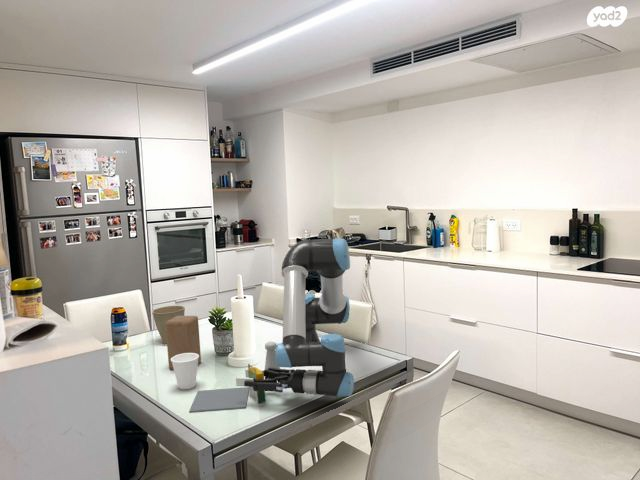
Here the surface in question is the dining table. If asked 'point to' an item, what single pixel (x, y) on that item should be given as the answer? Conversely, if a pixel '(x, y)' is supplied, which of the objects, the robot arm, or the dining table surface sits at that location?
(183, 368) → the cup
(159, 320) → the plant pot
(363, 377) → the dining table surface
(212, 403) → the mat
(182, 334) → the wooden block
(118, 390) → the dining table surface
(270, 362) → the salt shaker
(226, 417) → the dining table surface
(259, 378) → the crayon box
